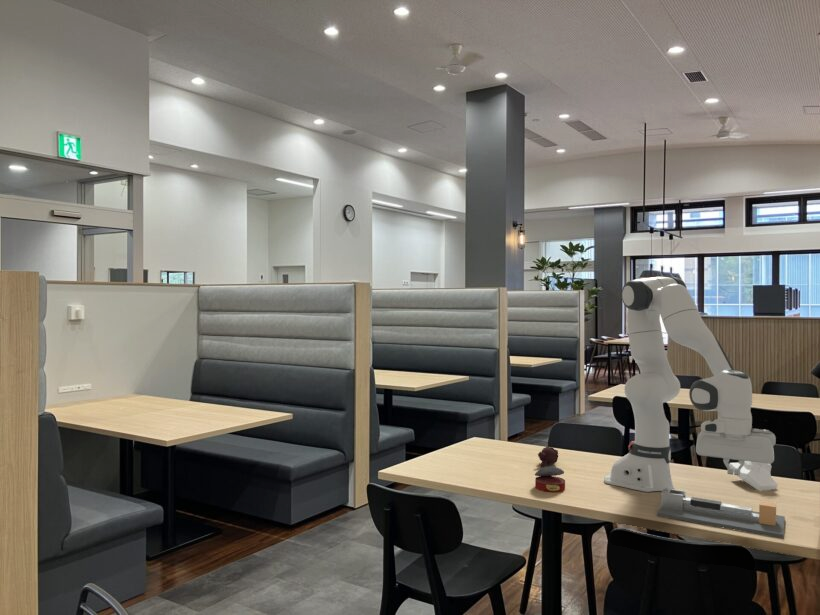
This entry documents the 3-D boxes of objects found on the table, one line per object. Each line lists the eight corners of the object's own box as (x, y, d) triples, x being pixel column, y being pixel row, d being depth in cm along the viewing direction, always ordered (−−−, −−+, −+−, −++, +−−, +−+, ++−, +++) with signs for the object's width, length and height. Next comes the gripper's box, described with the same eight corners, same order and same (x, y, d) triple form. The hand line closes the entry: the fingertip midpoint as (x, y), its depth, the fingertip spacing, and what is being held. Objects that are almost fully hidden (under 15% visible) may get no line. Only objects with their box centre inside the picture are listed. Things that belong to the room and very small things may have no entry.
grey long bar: (661, 507, 194) (661, 492, 194) (664, 502, 198) (664, 487, 198) (775, 526, 178) (775, 510, 178) (776, 520, 183) (776, 505, 183)
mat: (657, 516, 188) (657, 512, 188) (667, 500, 204) (668, 497, 204) (783, 538, 172) (783, 534, 172) (784, 519, 187) (784, 516, 187)
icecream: (546, 442, 257) (529, 452, 245) (563, 440, 253) (546, 450, 241) (551, 460, 257) (534, 470, 245) (568, 458, 252) (551, 469, 240)
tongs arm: (673, 502, 193) (673, 496, 193) (674, 500, 196) (675, 494, 196) (751, 515, 182) (751, 509, 182) (752, 512, 185) (752, 506, 185)
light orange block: (759, 523, 180) (759, 504, 180) (760, 518, 185) (760, 500, 185) (775, 525, 178) (775, 507, 178) (776, 520, 183) (776, 502, 183)
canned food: (536, 503, 214) (523, 475, 216) (549, 493, 222) (536, 466, 224) (564, 494, 207) (550, 465, 209) (576, 484, 215) (563, 456, 217)
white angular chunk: (761, 484, 231) (774, 447, 229) (777, 500, 216) (791, 461, 214) (725, 473, 233) (738, 437, 231) (739, 488, 218) (753, 449, 216)
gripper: (776, 429, 183) (775, 477, 183) (698, 421, 194) (697, 467, 194) (775, 432, 178) (774, 482, 178) (695, 424, 188) (694, 471, 188)
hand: (733, 474), depth 186 cm, fingers closed
